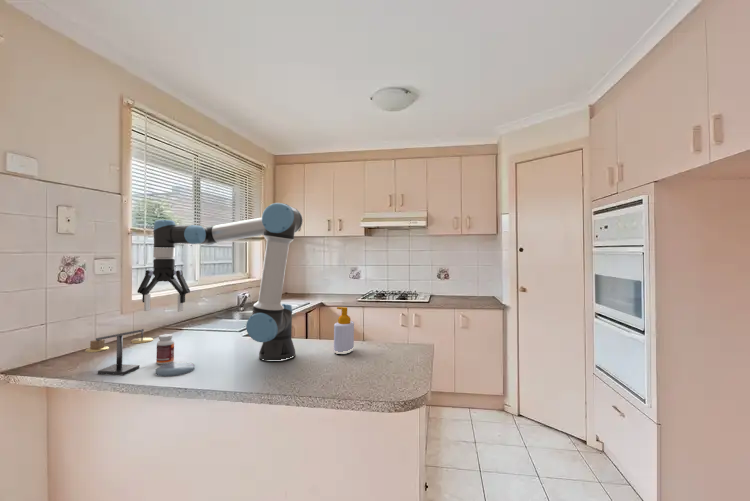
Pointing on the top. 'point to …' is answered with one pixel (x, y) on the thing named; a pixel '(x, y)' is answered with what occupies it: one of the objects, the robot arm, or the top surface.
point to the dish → (174, 369)
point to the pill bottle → (165, 349)
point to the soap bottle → (343, 332)
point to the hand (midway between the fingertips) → (163, 310)
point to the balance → (118, 367)
